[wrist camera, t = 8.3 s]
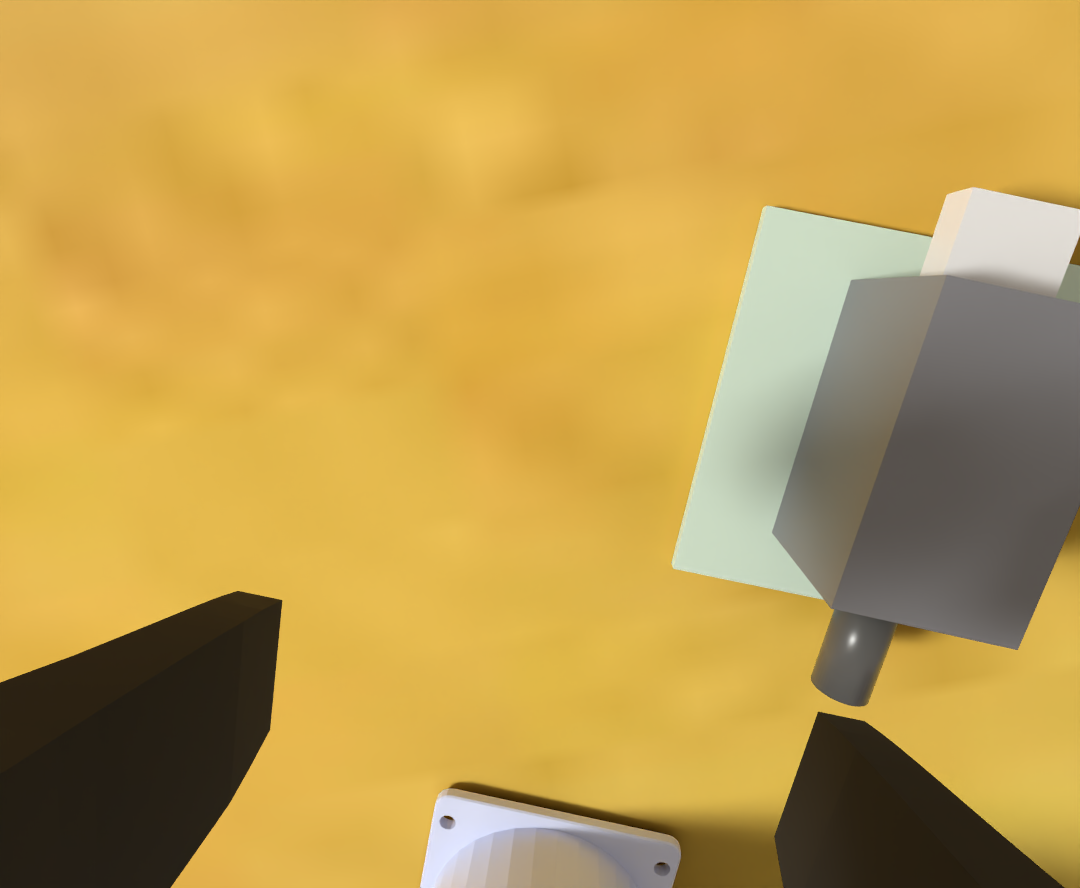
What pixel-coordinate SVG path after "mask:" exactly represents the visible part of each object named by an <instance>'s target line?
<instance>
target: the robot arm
mask: <svg viewBox="0 0 1080 888" xmlns="http://www.w3.org/2000/svg"><path fill="white" fill-rule="evenodd" d="M281 608H282V600H279V599H274V598H269V597H264V596H260V595H255V594H250V593H245V592H240V591H236V592H233V593H230V594H227V595H224V596H221V597H218V598H216V599H213V600H210V601H208V602H205V603H202V604H200V605H197V606H195V607H192V608H190V609H187V610H185V611H183V612H180V613H178V614H175V615H173V616H170V617H168V618H165V619H163V620H161V621H158V622H156V623H153V624H151V625H148V626H146V627H143V628H141V629H138V630H136V631H134V632H131V633H129V634H126V635H124V636H121V637H119V638H116V639H114V640H111V641H109V642H106V643H104V644H101V645H99V646H96V647H94V648H91V649H89V650H86V651H84V652H82V653H79V654H76V655H74V656H71V657H69V658H66V659H63V660H61V661H58V662H55V663H52V664H50V665H47V666H44V667H41V668H39V669H36V670H33V671H31V672H28V673H25V674H22V675H20V676H17V677H14V678H12V679H9V680H6V681H3V682H1V683H0V888H170V887H171V886H172V885H173V883H174V882H175V880H176V879H177V878H178V876H179V875H180V873H181V872H182V871H183V869H184V868H185V866H186V865H187V864H188V862H189V861H190V859H191V858H192V856H193V855H194V854H195V852H196V851H197V849H198V848H199V846H200V845H201V844H202V842H203V841H204V839H205V838H206V836H207V835H208V834H209V832H210V831H211V829H212V828H213V827H214V825H215V824H216V822H217V821H218V819H219V818H220V816H221V815H222V814H223V812H224V811H225V809H226V808H227V806H228V805H229V803H230V802H231V800H232V798H233V796H234V795H235V793H236V791H237V789H238V787H239V786H240V784H241V782H242V780H243V779H244V777H245V775H246V773H247V772H248V770H249V768H250V766H251V764H252V762H253V760H254V759H255V757H256V755H257V753H258V751H259V749H260V747H261V745H262V744H263V742H264V740H265V738H266V736H267V734H268V732H269V731H270V724H271V713H272V703H273V692H274V682H275V671H276V661H277V650H278V639H279V629H280V618H281ZM444 816H451V817H453V818H454V819H453V820H449V819H446V818H445V817H444ZM774 837H775V843H776V848H777V854H778V860H779V865H780V871H781V876H782V882H783V887H784V888H1064V887H1063V886H1062V885H1061V884H1059V883H1058V882H1057V881H1056V880H1054V879H1053V878H1052V877H1051V876H1050V875H1048V874H1047V873H1046V872H1045V871H1044V870H1042V869H1041V868H1040V867H1039V866H1038V865H1036V864H1035V863H1034V862H1033V861H1032V860H1031V859H1029V858H1028V857H1027V856H1026V855H1025V854H1023V853H1022V852H1021V851H1020V850H1019V849H1017V848H1016V847H1015V846H1014V845H1013V844H1012V843H1010V842H1009V841H1008V840H1007V839H1006V838H1005V837H1003V836H1002V835H1001V834H1000V833H999V832H998V831H996V830H995V829H994V828H993V827H992V826H991V825H989V824H988V823H987V822H986V821H985V820H984V819H982V818H981V817H980V816H979V815H978V814H977V813H975V812H974V811H973V810H972V809H971V808H970V807H968V806H967V805H966V804H965V803H964V802H963V801H961V800H960V799H959V798H958V797H957V796H956V795H954V794H953V793H952V792H951V791H950V790H949V789H947V788H946V787H945V786H944V785H943V784H942V783H941V782H939V781H938V780H937V779H936V778H935V777H934V776H932V775H931V774H930V773H929V772H928V771H926V770H925V769H924V768H923V767H922V766H921V765H919V764H918V763H917V762H916V761H915V760H913V759H912V758H911V757H910V756H909V755H907V754H906V753H905V752H904V751H903V750H901V749H900V748H899V747H898V746H897V745H895V744H894V743H893V742H892V741H890V740H889V739H888V738H887V737H885V736H884V735H883V734H881V733H880V732H879V731H877V730H876V729H875V728H873V727H872V726H870V725H869V724H868V723H866V722H865V721H860V720H856V719H851V718H846V717H841V716H836V715H832V714H827V713H822V712H818V714H817V717H816V720H815V722H814V725H813V728H812V731H811V734H810V737H809V740H808V742H807V745H806V748H805V751H804V754H803V757H802V759H801V762H800V765H799V768H798V771H797V774H796V777H795V779H794V782H793V785H792V788H791V791H790V794H789V796H788V799H787V802H786V805H785V808H784V811H783V814H782V816H781V819H780V822H779V825H778V828H777V831H776V833H775V836H774ZM680 860H681V850H680V845H679V843H678V841H677V840H676V839H675V838H674V837H673V836H670V835H667V834H663V833H658V832H653V831H649V830H644V829H639V828H635V827H630V826H626V825H621V824H616V823H612V822H607V821H602V820H598V819H593V818H588V817H584V816H579V815H575V814H570V813H565V812H561V811H556V810H551V809H547V808H542V807H537V806H533V805H528V804H524V803H519V802H514V801H510V800H505V799H500V798H496V797H491V796H486V795H482V794H477V793H472V792H468V791H463V790H459V789H452V788H448V789H445V790H443V791H442V792H440V793H439V795H438V797H437V800H436V804H435V808H434V814H433V819H432V825H431V830H430V836H429V841H428V847H427V852H426V858H425V863H424V869H423V874H422V880H421V885H420V888H672V887H673V883H674V880H675V877H676V873H677V870H678V866H679V863H680ZM659 862H664V863H666V864H664V865H657V863H659Z"/></svg>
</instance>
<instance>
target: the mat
mask: <svg viewBox="0 0 1080 888" xmlns="http://www.w3.org/2000/svg"><path fill="white" fill-rule="evenodd" d="M932 238H933V237H928V236H923V235H918V234H913V233H907V232H902V231H897V230H892V229H887V228H881V227H876V226H871V225H866V224H861V223H855V222H850V221H845V220H840V219H835V218H829V217H824V216H819V215H814V214H808V213H803V212H798V211H793V210H788V209H782V208H777V207H772V206H765V207H763V210H762V214H761V218H760V221H759V225H758V229H757V233H756V237H755V241H754V245H753V249H752V253H751V256H750V260H749V264H748V268H747V272H746V276H745V280H744V284H743V287H742V291H741V295H740V299H739V303H738V307H737V311H736V315H735V318H734V322H733V326H732V330H731V334H730V338H729V342H728V346H727V349H726V353H725V357H724V361H723V365H722V369H721V373H720V377H719V380H718V384H717V388H716V392H715V396H714V400H713V404H712V408H711V412H710V415H709V419H708V423H707V427H706V431H705V435H704V439H703V443H702V446H701V450H700V454H699V458H698V462H697V466H696V470H695V474H694V477H693V481H692V485H691V489H690V493H689V497H688V501H687V505H686V508H685V512H684V516H683V520H682V524H681V528H680V532H679V536H678V539H677V543H676V547H675V551H674V555H673V559H672V566H673V569H678V570H682V571H687V572H692V573H697V574H702V575H707V576H712V577H716V578H721V579H726V580H731V581H736V582H741V583H746V584H750V585H755V586H760V587H765V588H770V589H775V590H780V591H784V592H789V593H794V594H799V595H804V596H809V597H814V598H818V599H823V598H822V596H821V595H820V594H819V592H818V591H817V590H816V589H815V587H814V586H813V585H812V584H811V582H810V581H809V580H808V578H807V577H806V576H805V575H804V573H803V572H802V571H801V569H800V568H799V567H798V566H797V564H796V563H795V562H794V560H793V559H792V558H791V557H790V555H789V554H788V553H787V551H786V550H785V549H784V548H783V546H782V545H781V544H780V542H779V541H778V540H777V539H776V537H775V536H774V535H773V534H772V530H773V527H774V524H775V521H776V518H777V514H778V511H779V508H780V505H781V502H782V498H783V495H784V492H785V489H786V486H787V483H788V479H789V476H790V473H791V470H792V467H793V463H794V460H795V457H796V454H797V451H798V448H799V444H800V441H801V438H802V435H803V432H804V428H805V425H806V422H807V419H808V416H809V412H810V409H811V406H812V403H813V400H814V397H815V393H816V390H817V387H818V384H819V381H820V377H821V374H822V371H823V368H824V365H825V362H826V358H827V355H828V352H829V349H830V346H831V342H832V339H833V336H834V333H835V330H836V326H837V323H838V320H839V317H840V314H841V311H842V307H843V304H844V301H845V298H846V295H847V291H848V288H849V285H850V282H851V280H859V279H877V278H896V277H915V276H920V273H921V270H922V267H923V264H924V261H925V258H926V255H927V252H928V249H929V246H930V243H931V241H932ZM1056 298H1058V299H1063V300H1068V301H1072V302H1077V303H1080V266H1079V265H1074V264H1069V265H1068V267H1067V270H1066V272H1065V275H1064V277H1063V280H1062V283H1061V285H1060V288H1059V290H1058V293H1057V295H1056ZM823 600H824V599H823Z"/></svg>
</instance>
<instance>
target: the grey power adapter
mask: <svg viewBox="0 0 1080 888" xmlns="http://www.w3.org/2000/svg"><path fill="white" fill-rule="evenodd" d="M1079 236H1080V209H1076V208H1071V207H1066V206H1061V205H1056V204H1052V203H1047V202H1042V201H1037V200H1033V199H1028V198H1023V197H1018V196H1014V195H1009V194H1004V193H999V192H994V191H990V190H985V189H980V188H975V187H972V188H968V189H965V190H961V191H957V192H954V193H950V194H947V196H946V199H945V202H944V205H943V208H942V211H941V214H940V217H939V220H938V223H937V226H936V229H935V232H934V235H933V238H932V241H931V243H930V246H929V249H928V252H927V255H926V258H925V261H924V264H923V267H922V270H921V273H920V276H915V277H896V278H877V279H859V280H851V282H850V285H849V288H848V291H847V295H846V298H845V301H844V304H843V307H842V311H841V314H840V317H839V320H838V323H837V326H836V330H835V333H834V336H833V339H832V342H831V346H830V349H829V352H828V355H827V358H826V362H825V365H824V368H823V371H822V374H821V377H820V381H819V384H818V387H817V390H816V393H815V397H814V400H813V403H812V406H811V409H810V412H809V416H808V419H807V422H806V425H805V428H804V432H803V435H802V438H801V441H800V444H799V448H798V451H797V454H796V457H795V460H794V463H793V467H792V470H791V473H790V476H789V479H788V483H787V486H786V489H785V492H784V495H783V498H782V502H781V505H780V508H779V511H778V514H777V518H776V521H775V524H774V527H773V530H772V534H773V535H774V536H775V537H776V539H777V540H778V541H779V542H780V544H781V545H782V546H783V548H784V549H785V550H786V551H787V553H788V554H789V555H790V557H791V558H792V559H793V560H794V562H795V563H796V564H797V566H798V567H799V568H800V569H801V571H802V572H803V573H804V575H805V576H806V577H807V578H808V580H809V581H810V582H811V584H812V585H813V586H814V587H815V589H816V590H817V591H818V592H819V594H820V595H821V596H822V598H823V599H824V600H825V601H826V603H827V604H828V605H829V607H830V608H831V609H834V612H833V615H832V618H831V621H830V624H829V626H828V629H827V632H826V635H825V638H824V641H823V644H822V646H821V649H820V652H819V655H818V658H817V661H816V664H815V666H814V669H813V672H812V675H811V681H812V683H813V684H814V685H815V687H816V688H817V689H819V690H820V691H821V692H822V693H824V694H825V695H827V696H828V697H830V698H832V699H834V700H836V701H838V702H841V703H844V704H847V705H851V706H865V705H867V704H868V702H869V699H870V697H871V694H872V691H873V689H874V686H875V683H876V681H877V678H878V675H879V673H880V670H881V667H882V665H883V662H884V659H885V657H886V654H887V651H888V649H889V646H890V644H891V641H892V638H893V636H894V633H895V630H896V628H897V625H898V623H899V624H903V625H907V626H912V627H916V628H921V629H925V630H930V631H934V632H939V633H943V634H948V635H952V636H957V637H961V638H966V639H970V640H975V641H979V642H984V643H988V644H993V645H997V646H1002V647H1006V648H1011V649H1015V650H1018V648H1019V646H1020V643H1021V641H1022V639H1023V636H1024V634H1025V632H1026V629H1027V627H1028V625H1029V622H1030V620H1031V618H1032V615H1033V613H1034V611H1035V608H1036V606H1037V604H1038V601H1039V599H1040V597H1041V594H1042V592H1043V590H1044V588H1045V585H1046V583H1047V581H1048V578H1049V576H1050V574H1051V571H1052V569H1053V567H1054V564H1055V562H1056V560H1057V557H1058V555H1059V553H1060V550H1061V548H1062V546H1063V543H1064V541H1065V539H1066V536H1067V534H1068V532H1069V529H1070V527H1071V525H1072V522H1073V520H1074V518H1075V516H1076V513H1077V511H1078V509H1079V506H1080V303H1077V302H1072V301H1068V300H1063V299H1058V298H1056V295H1057V293H1058V290H1059V288H1060V285H1061V283H1062V280H1063V277H1064V275H1065V272H1066V270H1067V267H1068V265H1069V262H1070V259H1071V257H1072V254H1073V252H1074V249H1075V247H1076V244H1077V241H1078V239H1079Z"/></svg>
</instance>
